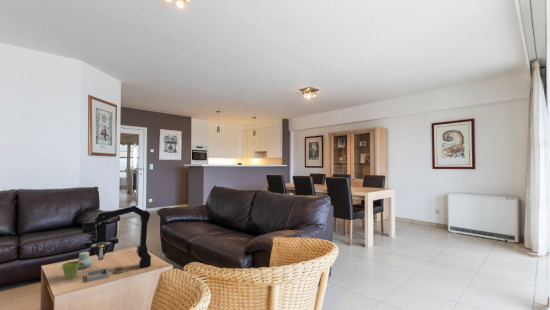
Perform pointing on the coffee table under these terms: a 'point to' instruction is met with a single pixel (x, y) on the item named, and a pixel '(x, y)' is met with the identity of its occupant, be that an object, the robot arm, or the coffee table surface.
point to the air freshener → (84, 260)
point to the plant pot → (70, 269)
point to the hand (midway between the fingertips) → (100, 255)
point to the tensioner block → (118, 270)
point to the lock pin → (101, 252)
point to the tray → (98, 275)
